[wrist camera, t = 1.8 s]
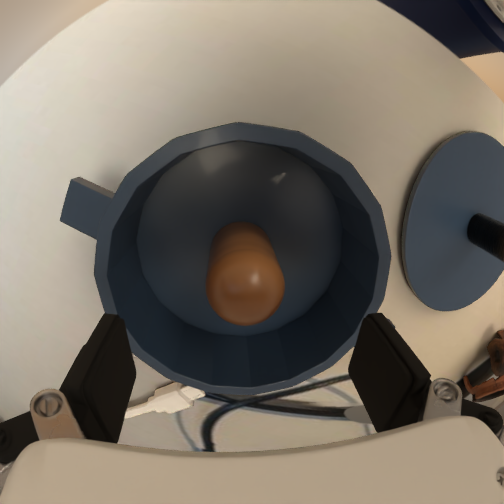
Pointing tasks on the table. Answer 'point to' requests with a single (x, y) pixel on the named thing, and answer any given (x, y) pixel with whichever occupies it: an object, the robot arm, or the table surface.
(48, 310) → the table surface
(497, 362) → the orange-brown curved ring piece
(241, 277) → the brown domed cylinder
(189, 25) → the table surface
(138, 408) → the charging cable
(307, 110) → the table surface
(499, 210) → the lid
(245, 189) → the pot
